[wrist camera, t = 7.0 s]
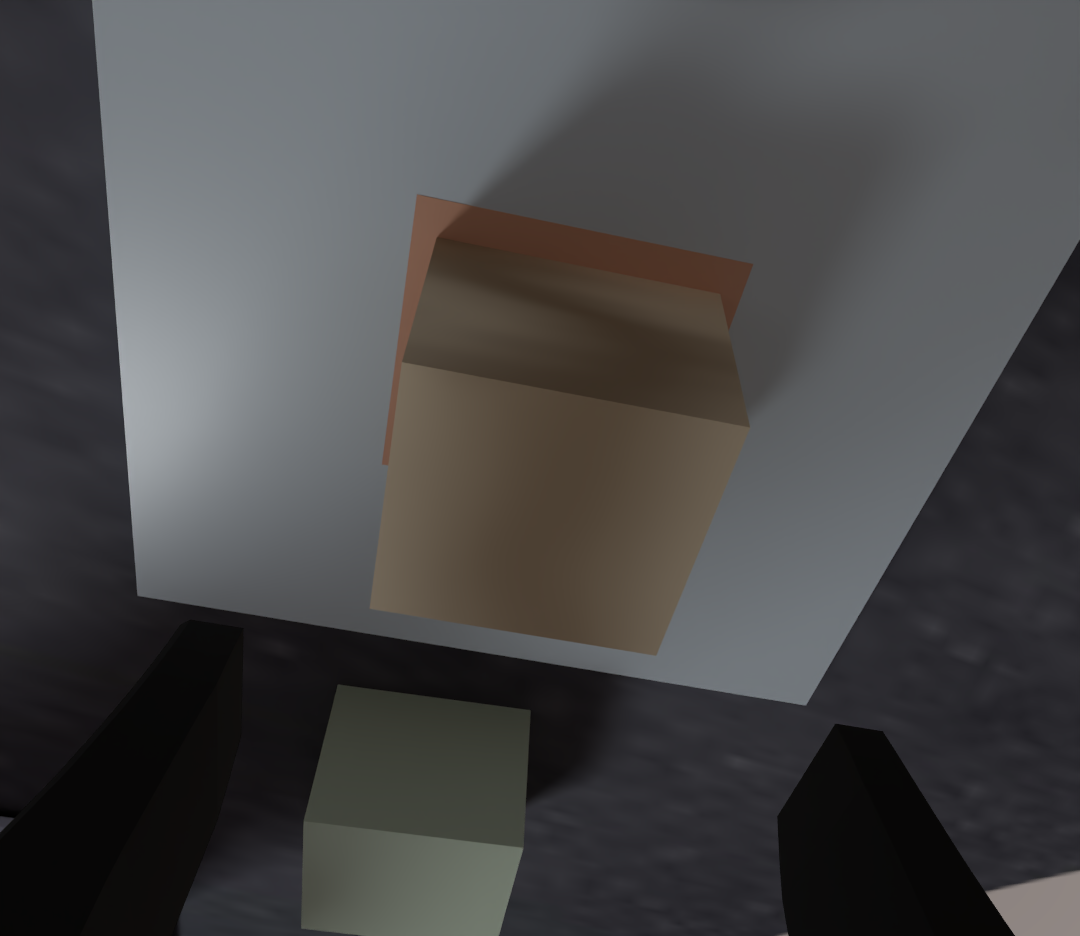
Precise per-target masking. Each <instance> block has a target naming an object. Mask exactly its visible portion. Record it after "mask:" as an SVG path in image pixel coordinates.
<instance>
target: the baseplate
mask: <svg viewBox="0 0 1080 936" xmlns="http://www.w3.org/2000/svg"><path fill="white" fill-rule="evenodd" d="M92 3H93V16H94V30H95V43H96V56H97V69H98V82H99V95H100V109H101V122H102V135H103V148H104V161H105V174H106V187H107V201H108V214H109V227H110V240H111V253H112V266H113V279H114V293H115V306H116V319H117V332H118V345H119V358H120V372H121V385H122V398H123V411H124V424H125V437H126V450H127V464H128V477H129V490H130V503H131V516H132V529H133V542H134V556H135V569H136V582H137V595H138V596H142V597H148V598H154V599H160V600H166V601H172V602H178V603H184V604H191V605H197V606H203V607H209V608H215V609H221V610H227V611H233V612H239V613H245V614H251V615H258V616H264V617H270V618H276V619H282V620H288V621H294V622H300V623H306V624H312V625H319V626H325V627H331V628H337V629H343V630H349V631H355V632H361V633H367V634H373V635H380V636H386V637H392V638H398V639H404V640H410V641H416V642H422V643H428V644H434V645H441V646H447V647H453V648H459V649H465V650H471V651H477V652H483V653H489V654H495V655H501V656H508V657H514V658H520V659H526V660H532V661H538V662H544V663H550V664H556V665H562V666H569V667H575V668H581V669H587V670H593V671H599V672H605V673H611V674H617V675H623V676H630V677H636V678H642V679H648V680H654V681H660V682H666V683H672V684H678V685H684V686H691V687H697V688H703V689H709V690H715V691H721V692H727V693H733V694H739V695H745V696H751V697H758V698H764V699H770V700H776V701H782V702H788V703H794V704H800V705H806V704H807V702H808V701H809V699H810V697H811V696H812V694H813V692H814V691H815V689H816V687H817V685H818V684H819V682H820V680H821V679H822V677H823V675H824V674H825V672H826V670H827V668H828V667H829V665H830V663H831V662H832V660H833V658H834V657H835V655H836V653H837V651H838V650H839V648H840V646H841V645H842V643H843V641H844V640H845V638H846V636H847V634H848V633H849V631H850V629H851V628H852V626H853V624H854V623H855V621H856V619H857V617H858V616H859V614H860V612H861V611H862V609H863V607H864V606H865V604H866V602H867V600H868V599H869V597H870V595H871V594H872V592H873V590H874V589H875V587H876V585H877V583H878V582H879V580H880V578H881V577H882V575H883V573H884V572H885V570H886V568H887V566H888V565H889V563H890V561H891V560H892V558H893V556H894V555H895V553H896V551H897V549H898V548H899V546H900V544H901V543H902V541H903V539H904V538H905V536H906V534H907V532H908V531H909V529H910V527H911V526H912V524H913V522H914V521H915V519H916V517H917V515H918V514H919V512H920V510H921V509H922V507H923V505H924V504H925V502H926V500H927V498H928V497H929V495H930V493H931V492H932V490H933V488H934V487H935V485H936V483H937V481H938V480H939V478H940V476H941V475H942V473H943V471H944V470H945V468H946V466H947V464H948V463H949V461H950V459H951V458H952V456H953V454H954V453H955V451H956V449H957V447H958V446H959V444H960V442H961V441H962V439H963V437H964V436H965V434H966V432H967V430H968V429H969V427H970V425H971V424H972V422H973V420H974V419H975V417H976V415H977V413H978V412H979V410H980V408H981V407H982V405H983V403H984V402H985V400H986V398H987V396H988V395H989V393H990V391H991V390H992V388H993V386H994V385H995V383H996V381H997V379H998V378H999V376H1000V374H1001V373H1002V371H1003V369H1004V368H1005V366H1006V364H1007V362H1008V361H1009V359H1010V357H1011V356H1012V354H1013V352H1014V351H1015V349H1016V347H1017V345H1018V344H1019V342H1020V340H1021V339H1022V337H1023V335H1024V334H1025V332H1026V330H1027V328H1028V327H1029V325H1030V323H1031V322H1032V320H1033V318H1034V317H1035V315H1036V313H1037V311H1038V310H1039V308H1040V306H1041V305H1042V303H1043V301H1044V300H1045V298H1046V296H1047V294H1048V293H1049V291H1050V289H1051V288H1052V286H1053V284H1054V283H1055V281H1056V279H1057V277H1058V276H1059V274H1060V272H1061V271H1062V269H1063V267H1064V266H1065V264H1066V262H1067V260H1068V259H1069V257H1070V255H1071V254H1072V252H1073V250H1074V249H1075V247H1076V245H1077V243H1078V242H1079V240H1080V0H92ZM437 237H439V238H444V239H449V240H454V241H459V242H464V243H469V244H474V245H479V246H484V247H489V248H494V249H499V250H504V251H509V252H514V253H519V254H524V255H529V256H534V257H539V258H544V259H549V260H554V261H559V262H564V263H569V264H574V265H579V266H584V267H589V268H594V269H599V270H604V271H609V272H614V273H619V274H624V275H629V276H634V277H639V278H644V279H649V280H654V281H659V282H664V283H669V284H673V285H678V286H683V287H688V288H693V289H698V290H703V291H708V292H713V293H718V294H720V295H721V300H722V304H723V309H724V313H725V317H726V322H727V326H728V331H729V335H730V340H731V344H732V349H733V353H734V358H735V362H736V366H737V371H738V375H739V380H740V384H741V389H742V393H743V398H744V402H745V406H746V411H747V415H748V420H749V424H750V429H749V432H748V434H747V437H746V439H745V442H744V444H743V446H742V449H741V451H740V454H739V456H738V459H737V461H736V463H735V466H734V468H733V471H732V473H731V476H730V478H729V480H728V483H727V485H726V488H725V490H724V493H723V495H722V497H721V500H720V502H719V505H718V507H717V510H716V512H715V514H714V517H713V519H712V522H711V524H710V526H709V529H708V531H707V534H706V536H705V539H704V541H703V543H702V546H701V548H700V551H699V553H698V556H697V558H696V560H695V563H694V565H693V568H692V570H691V573H690V575H689V577H688V580H687V582H686V585H685V587H684V590H683V592H682V594H681V597H680V599H679V602H678V604H677V607H676V609H675V611H674V614H673V616H672V619H671V621H670V624H669V626H668V628H667V631H666V633H665V636H664V638H663V641H662V643H661V645H660V648H659V650H658V653H657V655H656V656H654V655H648V654H642V653H636V652H630V651H624V650H618V649H612V648H606V647H600V646H593V645H587V644H581V643H575V642H569V641H563V640H557V639H551V638H545V637H539V636H533V635H527V634H520V633H514V632H508V631H502V630H496V629H490V628H484V627H478V626H472V625H466V624H460V623H454V622H447V621H441V620H435V619H429V618H423V617H417V616H411V615H405V614H399V613H393V612H387V611H380V610H374V609H369V608H370V601H371V593H372V585H373V578H374V570H375V563H376V555H377V547H378V540H379V532H380V525H381V517H382V509H383V502H384V494H385V486H386V479H387V471H388V464H389V456H390V448H391V441H392V433H393V426H394V418H395V410H396V403H397V395H398V388H399V380H400V372H401V365H402V360H403V356H404V353H405V349H406V345H407V342H408V338H409V335H410V331H411V328H412V324H413V320H414V317H415V313H416V310H417V306H418V303H419V299H420V295H421V292H422V288H423V285H424V281H425V278H426V274H427V270H428V267H429V263H430V260H431V256H432V252H433V249H434V245H435V242H436V238H437Z"/></svg>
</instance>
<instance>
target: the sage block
mask: <svg viewBox="0 0 1080 936" xmlns="http://www.w3.org/2000/svg"><path fill="white" fill-rule="evenodd" d="M530 715H531V710H525V709H518V708H510V707H503V706H495V705H488V704H480V703H473V702H465V701H458V700H450V699H443V698H435V697H428V696H421V695H413V694H406V693H398V692H391V691H383V690H376V689H368V688H361V687H353V686H346V685H338V686H337V690H336V694H335V698H334V702H333V706H332V710H331V714H330V718H329V722H328V726H327V730H326V734H325V738H324V742H323V746H322V750H321V754H320V758H319V762H318V766H317V770H316V774H315V778H314V782H313V786H312V790H311V794H310V798H309V802H308V806H307V810H306V814H305V818H304V826H303V873H302V921H301V928H302V929H311V930H319V931H328V932H337V933H346V934H354V935H363V936H499V933H500V929H501V926H502V922H503V919H504V915H505V911H506V908H507V904H508V901H509V897H510V894H511V890H512V886H513V883H514V879H515V876H516V872H517V869H518V865H519V862H520V858H521V854H522V851H523V844H524V826H525V807H526V789H527V770H528V752H529V733H530Z"/></svg>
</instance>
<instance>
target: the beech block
mask: <svg viewBox="0 0 1080 936" xmlns="http://www.w3.org/2000/svg"><path fill="white" fill-rule="evenodd" d="M749 429H750V424H749V420H748V415H747V411H746V406H745V402H744V398H743V393H742V389H741V384H740V380H739V375H738V371H737V366H736V362H735V358H734V353H733V349H732V344H731V340H730V335H729V331H728V326H727V322H726V317H725V313H724V309H723V304H722V300H721V295H720V294H718V293H713V292H708V291H703V290H698V289H693V288H688V287H683V286H678V285H673V284H669V283H664V282H659V281H654V280H649V279H644V278H639V277H634V276H629V275H624V274H619V273H614V272H609V271H604V270H599V269H594V268H589V267H584V266H579V265H574V264H569V263H564V262H559V261H554V260H549V259H544V258H539V257H534V256H529V255H524V254H519V253H514V252H509V251H504V250H499V249H494V248H489V247H484V246H479V245H474V244H469V243H464V242H459V241H454V240H449V239H444V238H439V237H437V238H436V242H435V245H434V249H433V252H432V256H431V260H430V263H429V267H428V270H427V274H426V278H425V281H424V285H423V288H422V292H421V295H420V299H419V303H418V306H417V310H416V313H415V317H414V320H413V324H412V328H411V331H410V335H409V338H408V342H407V345H406V349H405V353H404V356H403V360H402V365H401V372H400V380H399V388H398V395H397V403H396V410H395V418H394V426H393V433H392V441H391V448H390V456H389V464H388V471H387V479H386V486H385V494H384V502H383V509H382V517H381V525H380V532H379V540H378V547H377V555H376V563H375V570H374V578H373V585H372V593H371V601H370V608H369V609H374V610H380V611H387V612H393V613H399V614H405V615H411V616H417V617H423V618H429V619H435V620H441V621H447V622H454V623H460V624H466V625H472V626H478V627H484V628H490V629H496V630H502V631H508V632H514V633H520V634H527V635H533V636H539V637H545V638H551V639H557V640H563V641H569V642H575V643H581V644H587V645H593V646H600V647H606V648H612V649H618V650H624V651H630V652H636V653H642V654H648V655H654V656H656V655H657V653H658V650H659V648H660V645H661V643H662V641H663V638H664V636H665V633H666V631H667V628H668V626H669V624H670V621H671V619H672V616H673V614H674V611H675V609H676V607H677V604H678V602H679V599H680V597H681V594H682V592H683V590H684V587H685V585H686V582H687V580H688V577H689V575H690V573H691V570H692V568H693V565H694V563H695V560H696V558H697V556H698V553H699V551H700V548H701V546H702V543H703V541H704V539H705V536H706V534H707V531H708V529H709V526H710V524H711V522H712V519H713V517H714V514H715V512H716V510H717V507H718V505H719V502H720V500H721V497H722V495H723V493H724V490H725V488H726V485H727V483H728V480H729V478H730V476H731V473H732V471H733V468H734V466H735V463H736V461H737V459H738V456H739V454H740V451H741V449H742V446H743V444H744V442H745V439H746V437H747V434H748V432H749Z"/></svg>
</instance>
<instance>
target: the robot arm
mask: <svg viewBox="0 0 1080 936" xmlns="http://www.w3.org/2000/svg"><path fill="white" fill-rule="evenodd" d="M242 672H243V628H238V627H232V626H226V625H220V624H213V623H207V622H201V621H195V620H189V621H187V622H185V623H183V624H181V625H180V626H179V628H178V629H177V631H176V632H175V633H174V635H173V636H172V638H171V639H170V640H169V642H168V643H167V645H166V646H165V647H164V649H163V650H162V651H161V653H160V654H159V655H158V656H157V658H156V659H155V660H154V662H153V663H152V664H151V666H150V667H149V668H148V669H147V671H146V672H145V673H144V675H143V676H142V677H141V678H140V680H139V681H138V682H137V683H136V684H135V686H134V687H133V688H132V689H131V691H130V692H129V693H128V694H127V695H126V697H125V698H124V699H123V700H122V701H121V703H120V704H119V705H118V706H117V707H116V709H115V710H114V711H113V712H112V713H111V714H110V716H109V717H108V718H107V719H106V720H105V721H104V723H103V724H102V725H101V726H100V727H99V728H98V729H97V730H96V732H95V733H94V734H93V735H92V736H91V737H90V738H89V739H88V740H87V742H86V743H85V744H84V745H83V746H82V747H81V748H80V749H79V750H78V752H77V753H76V754H75V755H74V756H73V757H72V758H71V759H70V761H69V762H68V763H67V764H66V765H65V766H64V767H63V768H62V769H61V771H60V772H59V773H58V774H57V775H56V776H55V777H54V778H53V779H52V780H51V781H50V782H49V783H48V784H47V785H46V787H45V788H44V789H43V790H42V791H41V792H40V793H39V794H38V795H37V796H36V797H35V798H34V799H33V800H32V801H31V802H30V803H29V804H28V805H27V806H26V807H25V808H24V809H23V810H22V811H21V812H20V813H19V814H18V815H17V816H16V817H15V818H10V817H3V816H0V936H172V933H173V931H174V928H175V926H176V923H177V921H178V918H179V916H180V913H181V911H182V908H183V906H184V903H185V901H186V898H187V896H188V893H189V891H190V888H191V886H192V883H193V881H194V878H195V876H196V873H197V870H198V868H199V865H200V863H201V860H202V858H203V855H204V853H205V850H206V848H207V845H208V843H209V840H210V838H211V835H212V832H213V830H214V827H215V825H216V822H217V819H218V816H219V813H220V809H221V806H222V802H223V799H224V795H225V792H226V788H227V785H228V781H229V778H230V774H231V770H232V767H233V763H234V760H235V756H236V752H237V749H238V745H239V741H240V738H241V718H242ZM777 817H778V838H779V860H780V874H781V887H782V900H783V906H784V912H785V918H786V924H787V930H788V935H789V936H1015V935H1014V934H1013V932H1012V931H1011V929H1010V928H1009V927H1008V925H1007V924H1006V922H1005V921H1004V920H1003V918H1002V916H1001V915H1000V913H999V912H998V910H997V909H996V907H995V906H994V904H993V903H992V901H991V900H990V898H989V897H988V895H987V894H986V892H985V891H984V889H983V888H982V886H981V885H980V883H979V882H978V880H977V879H976V878H975V876H974V875H973V873H972V872H971V870H970V868H969V867H968V865H967V864H966V862H965V861H964V859H963V858H962V856H961V855H960V853H959V851H958V850H957V848H956V847H955V845H954V844H953V842H952V841H951V839H950V837H949V836H948V834H947V833H946V831H945V829H944V828H943V826H942V825H941V823H940V822H939V820H938V818H937V817H936V815H935V814H934V812H933V811H932V809H931V807H930V806H929V804H928V803H927V801H926V799H925V798H924V796H923V795H922V793H921V791H920V790H919V788H918V787H917V785H916V783H915V782H914V780H913V779H912V777H911V775H910V774H909V772H908V771H907V769H906V767H905V766H904V764H903V763H902V761H901V759H900V758H899V756H898V755H897V753H896V751H895V750H894V748H893V747H892V745H891V744H890V742H889V740H888V739H887V737H886V736H885V734H884V733H883V731H877V730H871V729H865V728H859V727H852V726H846V725H840V724H835V725H834V727H833V729H832V730H831V732H830V733H829V735H828V737H827V738H826V740H825V741H824V743H823V745H822V746H821V748H820V749H819V751H818V753H817V754H816V756H815V757H814V759H813V761H812V762H811V764H810V765H809V767H808V769H807V770H806V772H805V773H804V775H803V777H802V778H801V780H800V781H799V783H798V785H797V786H796V788H795V789H794V791H793V793H792V794H791V796H790V797H789V799H788V801H787V802H786V804H785V805H784V807H783V808H782V810H781V812H780V813H779V815H778V816H777Z"/></svg>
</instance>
